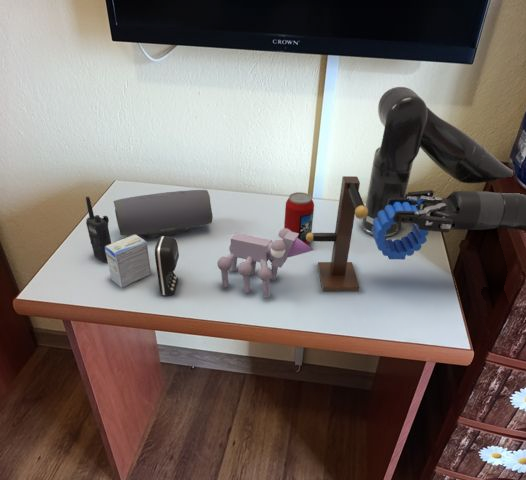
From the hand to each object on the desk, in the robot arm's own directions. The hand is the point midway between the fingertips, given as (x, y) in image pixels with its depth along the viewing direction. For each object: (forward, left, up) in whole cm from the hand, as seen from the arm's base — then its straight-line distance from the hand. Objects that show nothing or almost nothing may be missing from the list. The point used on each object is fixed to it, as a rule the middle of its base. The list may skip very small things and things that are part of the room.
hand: (391, 210), depth 101 cm
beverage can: (+5, -24, -18) cm, 30 cm away
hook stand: (+10, -4, -18) cm, 21 cm away
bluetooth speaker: (+31, -45, -18) cm, 57 cm away
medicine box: (+46, -30, -18) cm, 58 cm away
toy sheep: (+22, -12, -18) cm, 31 cm away
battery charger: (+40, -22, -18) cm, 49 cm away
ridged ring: (-2, +1, -10) cm, 10 cm away
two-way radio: (+48, -41, -18) cm, 66 cm away
